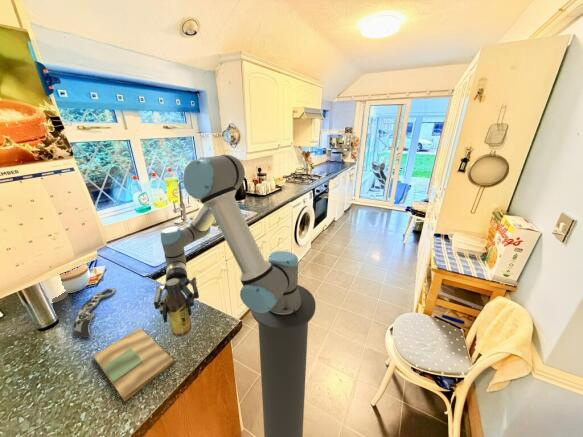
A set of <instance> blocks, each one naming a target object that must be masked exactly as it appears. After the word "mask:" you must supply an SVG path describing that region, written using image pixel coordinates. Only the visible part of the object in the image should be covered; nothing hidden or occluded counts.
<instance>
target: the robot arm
mask: <svg viewBox="0 0 583 437" xmlns="http://www.w3.org/2000/svg"><path fill="white" fill-rule="evenodd" d="M245 171H246V170H245V167H244V165H243V163H242V162H241V161H240V159H238V158H237V157H235V156H233V155H231V154H220V155H213V156H206V157H199V158H195V159H192V160H190V161H188V163H186V165H185V166H184V169H183V174H182V182H183V187H184V189H185V192H187V194H188V195H189V196H190V197H191V198H193V199H196V200H200V203H201V206H200V208H199V209H198V211H197V212H196V214H195V216H194V218H193V219H192V221H191V222H190V223H189V225H186V226H185V227H182V228H180V227H177V226H172V227H167V228H164V229H162V230H161V232H160V242H161V245H162V249H163V252H164V260H165V266H166V271H165V272H166V273H165V283H164V284H163V285H162V286H160V285H156V286H155V290H156V292H155V295H154V300H153V306H154V309H155V310H158V309H159V314H160V315H162V318H163V319H162V320H163V323H164V324H165V323H168V311H167V305H166V300H167V297H168V290H167V287H166V282H167V281H168V280H170V279H173V278H177V279H179V280H180V288H181V291H182V293H183V294H184V296H185V297H186V298H187V308H188V314H189V316H190V317H191V316H192V307H194V306H195V300H196V299H199V298H200V294H199V290H198V286H197V284H198V282H197V277H192V279H189V278H188V268H187V257H186V253H185V247H186V246H189V245H191V244H192V243H194V242H197V241H198V240H201V239H203V238H205V237H206V236H207V235H209V234H210V232H211V225H212V224H213V223H214V221H215V222H216V223H217V225H218V228H219V230H220V232H221V234H222V236H223V238H224V240H225V241H226V244H227V246H228V248H229V250H230V252H231V254H232V256H233V258H234V260H235V262H236V264H237V266H238V269H239V270H240V272H241V273H240V276H239V280H240V282H241V284H242V287H241V289H240V292H239V296H240V300H241V302H242V303H243V304H244V305H245V306H246V308H248V309H249V310H250V311H251V310H253V311H255V312H258V313H265V312H268V311H269V312H270V313H272V314H274V315H278V316H288V315H292V314H294V313H295V315H297V313H296V312H297V311H298V310H299V309H300V307H301V296H300V294H299V291H298V288H297V285H299V280H298V279H299V258H298V256H297V255H296V254H294V253H293V252H291V251H288V250H287V251H286V250H277V251H273V252H271V253H269V255H268V257H267V260H265V258H264V257H263V253H262V252H261V250H260V248H259V246H258V243H257V241H256V239H255V237H254V235H253V233H252V231H251V229H250V227H249V225H248V223H247V221H246V219H245V216H244V215H243V213H242V210H241V208H240V206H239V203H238V202H237V200H236V197H235V196H236V194H237V192H238V190H239V189H240V188H241V187H242V184H243V182H244V180H245V176H246V172H245ZM189 284H190V285H191V286H192V287H191V288H192V291H191V290H190V289H189V287H188V286H189ZM164 291H165V292H164ZM163 293H164V294H163Z"/></svg>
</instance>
